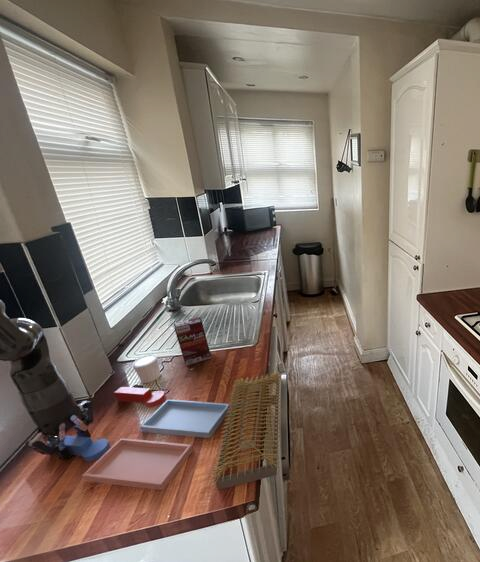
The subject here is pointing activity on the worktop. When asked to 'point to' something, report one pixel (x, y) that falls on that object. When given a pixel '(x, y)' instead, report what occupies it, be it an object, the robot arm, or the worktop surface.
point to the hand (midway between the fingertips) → (76, 449)
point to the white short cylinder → (147, 368)
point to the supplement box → (192, 340)
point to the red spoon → (140, 396)
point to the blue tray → (186, 418)
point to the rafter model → (243, 406)
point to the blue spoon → (86, 447)
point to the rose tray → (139, 464)
